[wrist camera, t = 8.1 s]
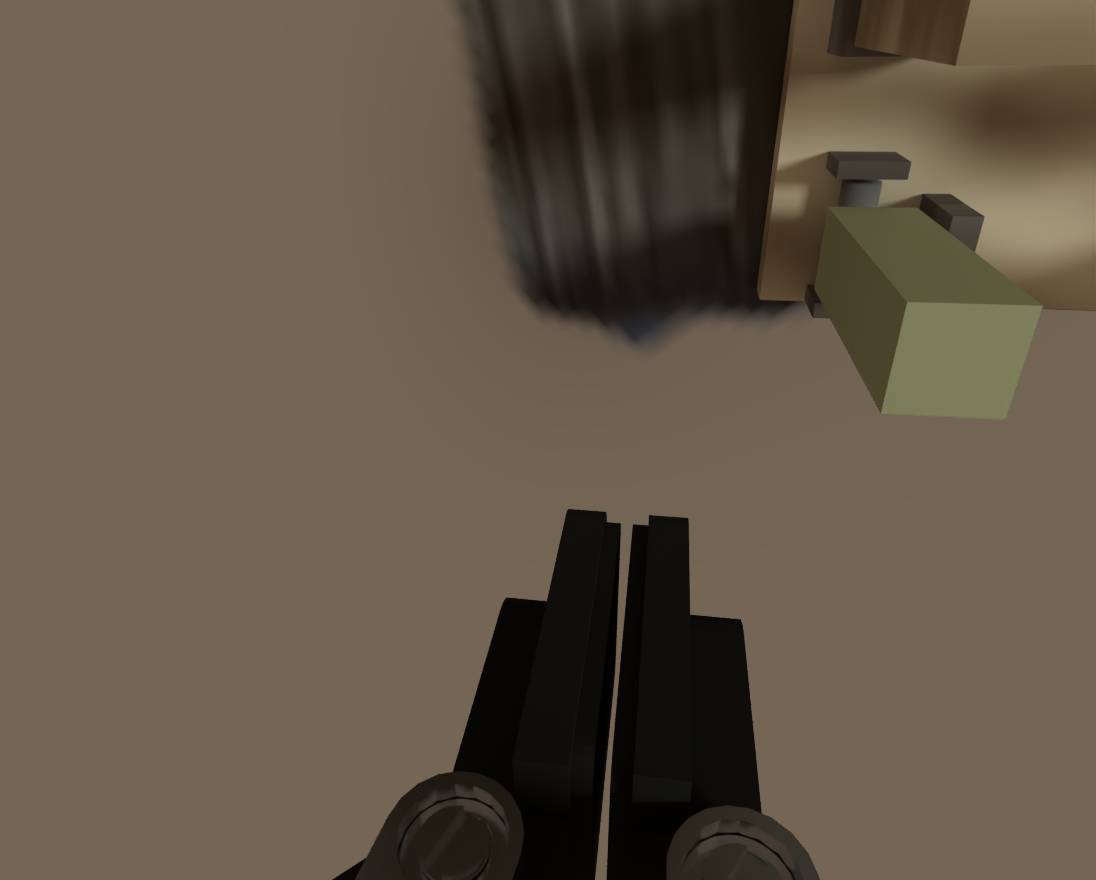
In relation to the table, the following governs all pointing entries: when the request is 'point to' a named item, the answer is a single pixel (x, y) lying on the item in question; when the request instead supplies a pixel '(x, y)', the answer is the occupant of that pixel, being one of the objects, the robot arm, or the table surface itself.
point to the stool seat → (942, 135)
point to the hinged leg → (921, 310)
